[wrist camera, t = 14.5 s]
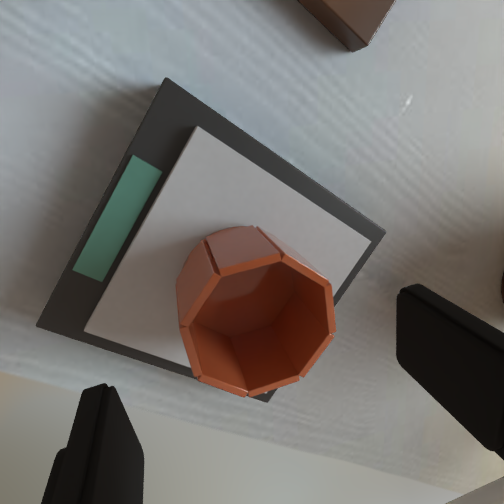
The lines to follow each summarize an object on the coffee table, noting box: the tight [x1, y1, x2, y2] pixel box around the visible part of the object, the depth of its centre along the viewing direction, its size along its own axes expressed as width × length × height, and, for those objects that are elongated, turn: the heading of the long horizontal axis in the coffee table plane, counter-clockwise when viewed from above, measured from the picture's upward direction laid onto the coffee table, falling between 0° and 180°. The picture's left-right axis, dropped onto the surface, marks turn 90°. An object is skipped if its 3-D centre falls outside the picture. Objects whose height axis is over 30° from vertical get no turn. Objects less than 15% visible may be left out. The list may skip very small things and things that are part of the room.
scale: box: [36, 78, 386, 402], centre depth 18 cm, size 14×13×3 cm
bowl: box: [175, 225, 336, 397], centre depth 15 cm, size 6×6×4 cm
